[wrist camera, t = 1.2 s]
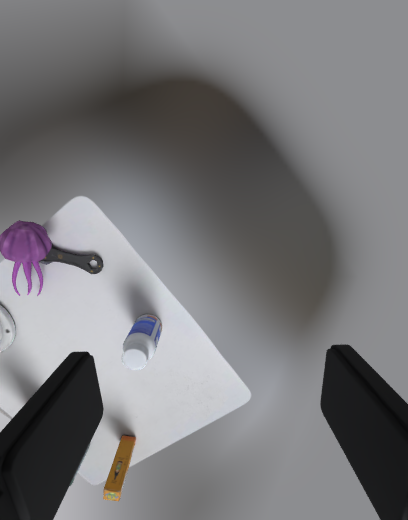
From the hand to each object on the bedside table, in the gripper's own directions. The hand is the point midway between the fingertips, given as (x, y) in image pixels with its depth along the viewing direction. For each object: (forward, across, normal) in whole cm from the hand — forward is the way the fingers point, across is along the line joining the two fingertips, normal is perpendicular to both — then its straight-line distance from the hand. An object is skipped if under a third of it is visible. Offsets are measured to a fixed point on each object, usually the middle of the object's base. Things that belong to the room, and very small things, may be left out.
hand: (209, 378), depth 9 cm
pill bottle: (+32, +12, +17) cm, 38 cm away
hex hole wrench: (+31, +29, +1) cm, 42 cm away
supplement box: (+32, +20, +46) cm, 60 cm away
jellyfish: (+30, +33, +9) cm, 46 cm away
